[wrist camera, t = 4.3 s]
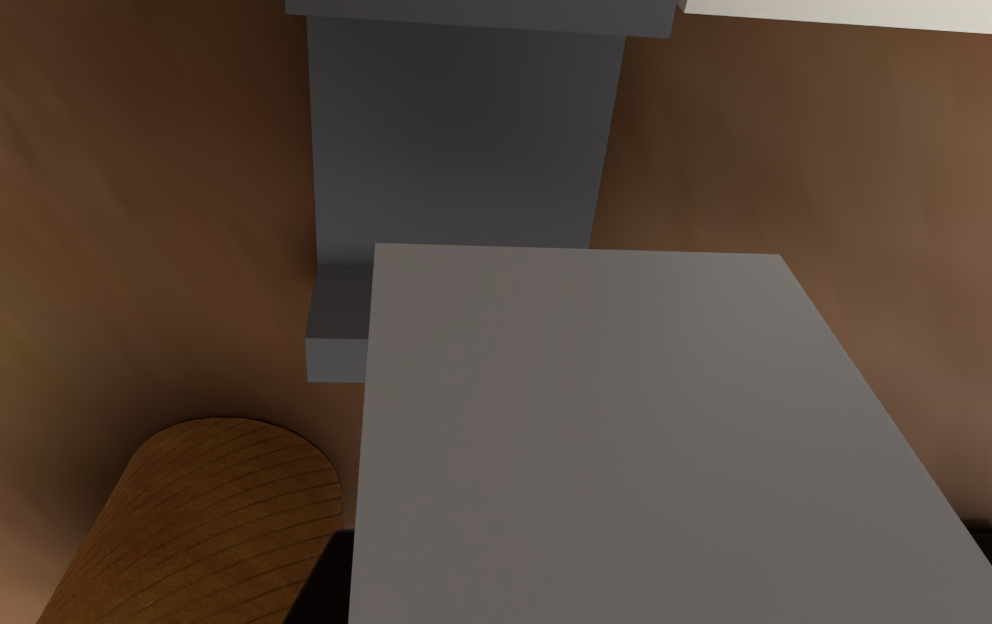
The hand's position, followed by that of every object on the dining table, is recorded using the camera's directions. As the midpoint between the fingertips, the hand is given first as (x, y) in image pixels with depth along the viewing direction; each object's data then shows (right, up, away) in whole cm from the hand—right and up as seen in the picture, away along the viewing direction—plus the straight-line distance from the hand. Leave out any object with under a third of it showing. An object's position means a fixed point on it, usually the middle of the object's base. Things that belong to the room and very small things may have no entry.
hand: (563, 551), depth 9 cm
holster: (-2, +7, +10) cm, 12 cm away
